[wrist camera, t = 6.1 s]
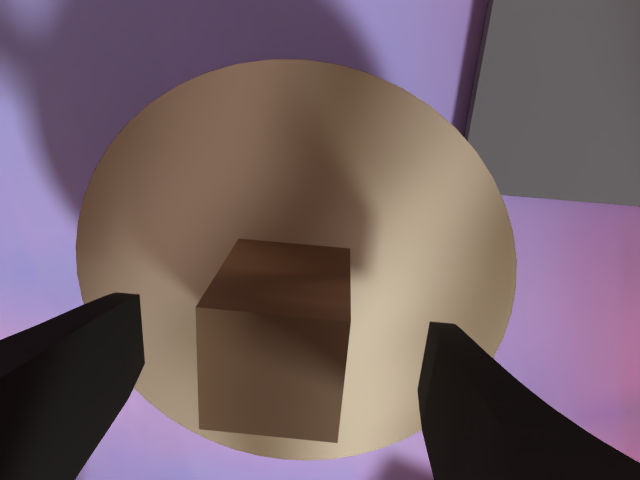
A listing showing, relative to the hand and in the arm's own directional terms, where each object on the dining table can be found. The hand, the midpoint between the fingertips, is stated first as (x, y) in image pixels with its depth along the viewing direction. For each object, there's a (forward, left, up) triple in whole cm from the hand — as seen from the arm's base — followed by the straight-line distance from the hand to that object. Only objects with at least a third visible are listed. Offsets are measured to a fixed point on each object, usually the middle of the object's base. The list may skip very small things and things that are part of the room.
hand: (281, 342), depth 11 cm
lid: (0, 0, -3) cm, 3 cm away
